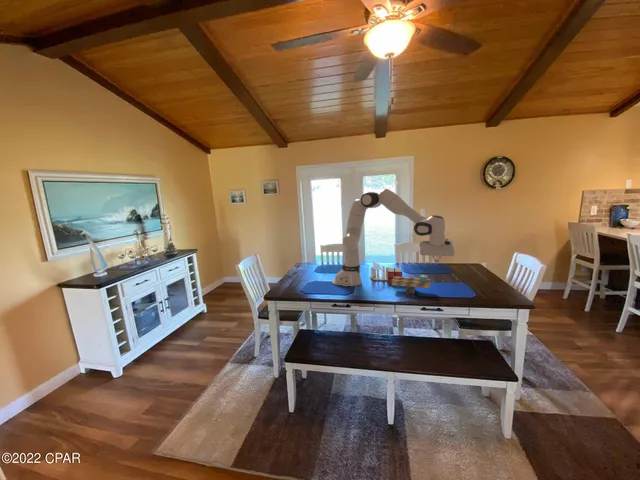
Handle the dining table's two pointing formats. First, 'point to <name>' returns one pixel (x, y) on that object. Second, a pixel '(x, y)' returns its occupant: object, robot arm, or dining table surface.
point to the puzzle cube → (393, 274)
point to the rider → (423, 278)
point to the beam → (410, 283)
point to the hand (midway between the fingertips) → (436, 262)
